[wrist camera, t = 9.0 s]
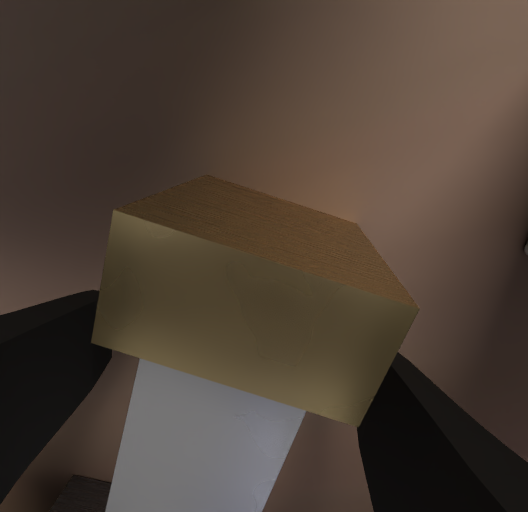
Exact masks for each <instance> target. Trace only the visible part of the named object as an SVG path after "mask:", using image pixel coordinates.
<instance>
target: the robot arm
mask: <svg viewBox="0 0 528 512" xmlns="http://www.w3.org/2000/svg"><path fill="white" fill-rule="evenodd" d="M99 292H100V291H96V290H90V291H85V292H80V293H76V294H73V295H69V296H65V297H62V298H58V299H55V300H52V301H48V302H45V303H41V304H38V305H35V306H31V307H28V308H25V309H21V310H18V311H14V312H11V313H7V314H3V315H0V504H1V503H2V501H3V500H4V498H5V497H6V495H7V494H8V493H9V491H10V490H11V488H12V487H13V485H14V484H15V483H16V481H17V480H18V479H19V478H20V476H21V475H22V474H23V472H24V471H25V470H26V469H27V467H28V466H29V465H30V463H31V462H32V461H33V460H34V459H35V457H36V456H37V455H38V454H39V453H40V451H41V450H42V449H43V448H44V447H45V445H46V444H47V443H48V442H49V441H50V439H51V438H52V437H53V436H54V435H55V433H56V432H57V431H58V430H59V429H60V427H61V426H62V425H63V424H64V423H65V421H66V420H67V419H68V418H69V417H70V415H71V414H72V413H73V412H74V411H75V409H76V408H77V407H78V406H79V404H80V403H81V402H82V401H83V400H84V398H85V397H86V396H87V395H88V393H89V392H90V391H91V390H92V388H93V387H94V385H95V384H96V382H97V380H98V379H99V377H100V376H101V374H102V373H103V371H104V369H105V368H106V366H107V364H108V363H109V361H110V359H111V358H112V349H109V348H106V347H103V346H99V345H96V344H93V343H91V340H92V334H93V328H94V322H95V316H96V310H97V304H98V298H99ZM357 432H358V441H359V448H360V453H361V457H362V462H363V466H364V471H365V475H366V480H367V484H368V488H369V493H370V497H371V501H372V505H373V510H374V512H528V462H526V461H525V460H524V459H522V458H521V457H520V456H518V455H517V454H516V453H514V452H513V451H512V450H511V449H509V448H508V447H507V446H506V445H504V444H503V443H502V442H501V441H499V440H498V439H497V438H496V437H495V436H493V435H492V434H491V433H490V432H489V431H487V430H486V429H485V428H484V427H482V426H481V425H480V424H479V423H478V422H476V421H475V420H474V419H473V418H472V417H471V416H470V415H468V414H467V413H466V412H465V411H464V410H463V409H462V408H460V407H459V406H458V405H457V404H456V403H455V402H454V401H453V400H451V399H450V398H449V397H448V396H447V395H446V394H445V393H444V392H443V391H442V390H440V389H439V388H438V387H437V386H436V385H435V384H434V383H433V382H432V381H431V380H430V379H428V378H427V377H426V376H425V375H424V374H423V373H422V372H421V371H420V370H419V369H417V368H416V367H415V366H414V365H413V364H412V363H411V362H410V361H408V360H407V359H406V358H405V357H404V356H402V355H401V354H400V353H398V352H397V354H396V356H395V358H394V360H393V362H392V364H391V366H390V367H389V369H388V371H387V373H386V375H385V377H384V379H383V381H382V383H381V385H380V387H379V389H378V391H377V393H376V395H375V397H374V399H373V400H372V402H371V404H370V406H369V408H368V410H367V412H366V414H365V416H364V418H363V420H362V422H361V424H360V426H359V427H357Z"/></svg>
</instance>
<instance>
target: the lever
mask: <svg viewBox="0 0 528 512" xmlns="http://www.w3.org/2000/svg"><path fill="white" fill-rule="evenodd" d="M419 309H420V308H419V307H418V306H417V304H416V303H415V302H414V300H413V299H412V298H411V296H410V295H409V294H408V292H407V291H406V290H405V288H404V287H403V286H402V284H401V283H400V282H399V280H398V279H397V277H396V276H395V275H394V273H393V272H392V271H391V269H390V268H389V267H388V265H387V264H386V263H385V261H384V260H383V259H382V257H381V256H380V255H379V253H378V252H377V250H376V249H375V248H374V246H373V245H372V244H371V242H370V241H369V240H368V238H367V237H366V236H365V234H364V233H363V232H362V230H361V229H360V228H359V226H358V225H357V224H356V223H353V222H350V221H347V220H344V219H341V218H338V217H335V216H332V215H329V214H326V213H323V212H319V211H316V210H313V209H310V208H307V207H304V206H301V205H298V204H295V203H292V202H289V201H286V200H283V199H280V198H277V197H273V196H270V195H267V194H264V193H261V192H258V191H255V190H252V189H249V188H246V187H243V186H240V185H237V184H234V183H231V182H227V181H224V180H221V179H218V178H215V177H212V176H209V175H204V176H202V177H199V178H196V179H194V180H191V181H188V182H186V183H183V184H180V185H178V186H175V187H173V188H170V189H167V190H165V191H162V192H159V193H157V194H154V195H151V196H149V197H146V198H143V199H141V200H138V201H135V202H133V203H130V204H127V205H125V206H122V207H120V208H117V209H114V210H113V215H112V221H111V227H110V233H109V239H108V245H107V251H106V257H105V263H104V269H103V274H102V280H101V286H100V292H99V298H98V304H97V310H96V316H95V322H94V328H93V334H92V340H91V343H93V344H96V345H99V346H103V347H106V348H109V349H112V350H115V351H118V352H122V353H125V354H128V355H131V356H134V357H137V358H140V360H139V365H138V369H137V373H136V378H135V382H134V387H133V391H132V396H131V400H130V404H129V409H128V413H127V418H126V422H125V427H124V431H123V435H122V440H121V444H120V449H119V453H118V458H117V462H116V466H115V471H114V475H113V480H112V484H111V488H110V493H109V497H108V502H107V506H106V511H105V512H262V510H263V508H264V506H265V504H266V501H267V499H268V497H269V495H270V492H271V490H272V488H273V486H274V483H275V481H276V479H277V476H278V474H279V472H280V470H281V467H282V465H283V463H284V461H285V458H286V456H287V454H288V452H289V449H290V447H291V445H292V443H293V440H294V438H295V436H296V433H297V431H298V429H299V427H300V424H301V422H302V420H303V418H304V415H305V413H306V411H308V412H311V413H314V414H317V415H321V416H324V417H327V418H330V419H333V420H336V421H340V422H343V423H346V424H349V425H352V426H355V427H359V426H360V424H361V422H362V420H363V418H364V416H365V414H366V412H367V410H368V408H369V406H370V404H371V402H372V400H373V399H374V397H375V395H376V393H377V391H378V389H379V387H380V385H381V383H382V381H383V379H384V377H385V375H386V373H387V371H388V369H389V367H390V366H391V364H392V362H393V360H394V358H395V356H396V354H397V352H398V350H399V348H400V346H401V344H402V342H403V340H404V338H405V336H406V334H407V332H408V331H409V329H410V327H411V325H412V323H413V321H414V319H415V317H416V315H417V313H418V311H419Z"/></svg>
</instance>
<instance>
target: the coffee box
mask: <svg viewBox="0 0 528 512" xmlns="http://www.w3.org/2000/svg"><path fill="white" fill-rule="evenodd" d="M525 253H526V254H527V255H528V242H527V244H526V246H525Z"/></svg>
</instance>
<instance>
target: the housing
mask: <svg viewBox="0 0 528 512" xmlns="http://www.w3.org/2000/svg"><path fill="white" fill-rule="evenodd" d="M111 484H112V483H108V482H103V481H99V480H94V479H90V478H85V477H81V476H76V475H73V476H72V478H71V479H70V481H69V482H68V484H67V485H66V487H65V488H64V490H63V491H62V493H61V494H60V496H59V497H58V499H57V500H56V502H55V503H54V505H53V506H52V508H51V509H50V511H49V512H105V511H106V506H107V502H108V497H109V493H110V488H111Z"/></svg>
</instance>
